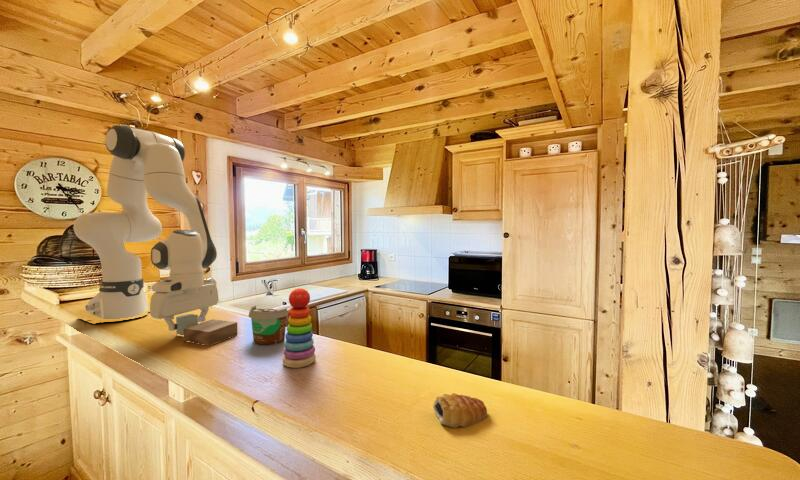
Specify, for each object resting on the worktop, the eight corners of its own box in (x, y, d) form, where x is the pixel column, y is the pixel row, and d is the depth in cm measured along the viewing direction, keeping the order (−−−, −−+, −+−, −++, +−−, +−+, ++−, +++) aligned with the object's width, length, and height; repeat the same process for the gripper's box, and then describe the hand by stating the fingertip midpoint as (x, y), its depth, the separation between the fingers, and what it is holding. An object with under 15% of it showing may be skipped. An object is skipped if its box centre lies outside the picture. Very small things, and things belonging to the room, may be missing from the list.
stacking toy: (275, 365, 79) (274, 289, 78) (299, 353, 86) (299, 284, 85) (299, 371, 75) (298, 292, 74) (322, 359, 82) (322, 287, 81)
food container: (239, 344, 92) (238, 310, 92) (254, 337, 98) (254, 305, 98) (274, 349, 89) (274, 313, 88) (288, 341, 95) (288, 308, 94)
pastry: (476, 403, 62) (476, 384, 62) (494, 424, 55) (495, 403, 55) (430, 410, 60) (430, 390, 59) (444, 433, 53) (444, 410, 53)
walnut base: (183, 341, 94) (183, 328, 94) (213, 331, 104) (213, 319, 104) (209, 345, 91) (209, 332, 91) (237, 334, 101) (237, 322, 100)
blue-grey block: (176, 336, 99) (176, 317, 99) (188, 332, 103) (188, 313, 103) (186, 337, 98) (185, 318, 98) (197, 333, 102) (197, 314, 102)
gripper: (208, 276, 111) (209, 316, 111) (145, 286, 91) (146, 334, 92) (222, 277, 109) (223, 317, 109) (161, 287, 89) (162, 336, 90)
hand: (187, 325), depth 100 cm, fingers open, 8 cm apart
